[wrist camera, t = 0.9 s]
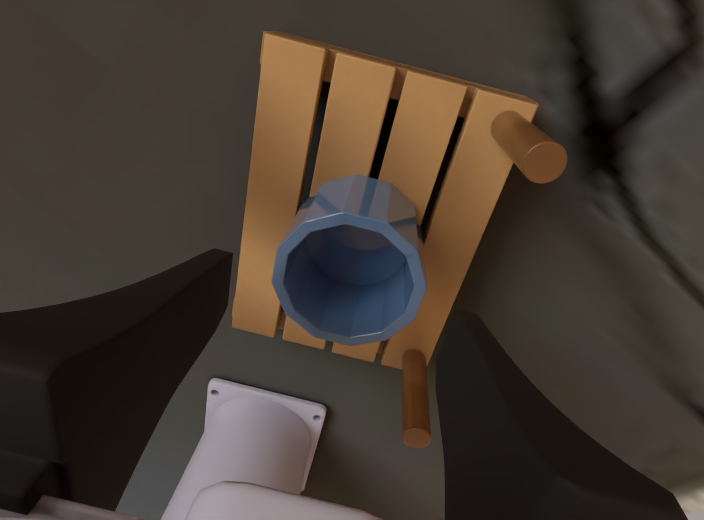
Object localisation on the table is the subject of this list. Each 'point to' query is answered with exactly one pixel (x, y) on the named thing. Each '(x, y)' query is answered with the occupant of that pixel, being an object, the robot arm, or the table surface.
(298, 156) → the rack
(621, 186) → the table surface
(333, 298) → the blue faceted cup
